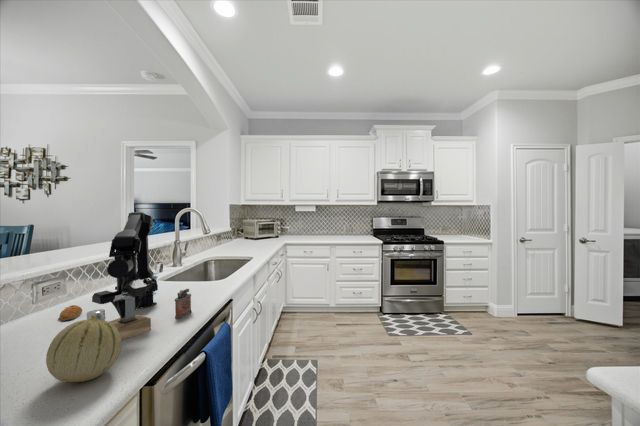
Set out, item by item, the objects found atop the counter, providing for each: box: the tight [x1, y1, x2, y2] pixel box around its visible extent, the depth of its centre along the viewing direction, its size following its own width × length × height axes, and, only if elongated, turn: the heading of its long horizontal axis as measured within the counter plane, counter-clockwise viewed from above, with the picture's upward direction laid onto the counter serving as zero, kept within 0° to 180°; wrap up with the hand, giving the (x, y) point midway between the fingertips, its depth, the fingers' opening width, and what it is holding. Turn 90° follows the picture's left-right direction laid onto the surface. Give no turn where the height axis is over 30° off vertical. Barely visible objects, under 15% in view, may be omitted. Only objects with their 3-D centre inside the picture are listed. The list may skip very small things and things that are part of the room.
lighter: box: [174, 288, 192, 320], centre depth 117 cm, size 8×3×10 cm, turn 168°
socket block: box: [108, 313, 152, 342], centre depth 101 cm, size 10×10×4 cm
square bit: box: [119, 295, 136, 324], centre depth 101 cm, size 3×3×10 cm
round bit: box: [86, 308, 106, 321], centre depth 105 cm, size 5×5×6 cm
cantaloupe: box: [45, 315, 122, 383], centre depth 74 cm, size 15×15×15 cm
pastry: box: [58, 304, 83, 322], centre depth 116 cm, size 9×7×4 cm
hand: (127, 316), depth 101 cm, fingers closed on square bit, 3 cm apart
